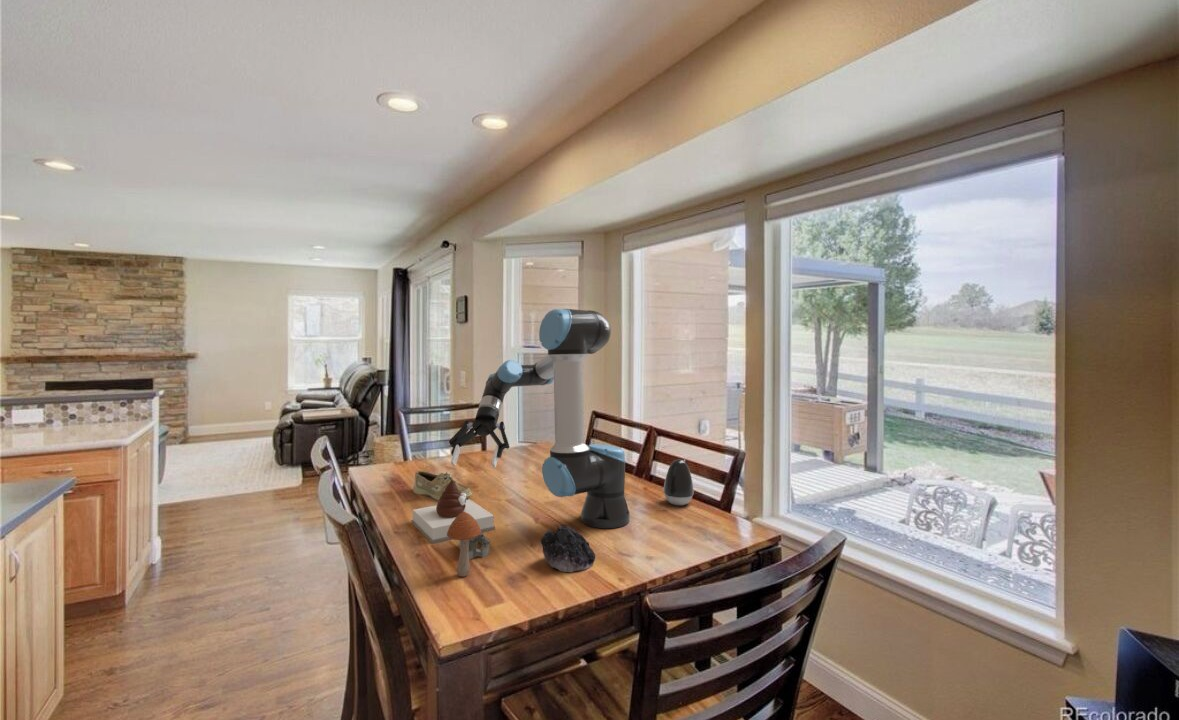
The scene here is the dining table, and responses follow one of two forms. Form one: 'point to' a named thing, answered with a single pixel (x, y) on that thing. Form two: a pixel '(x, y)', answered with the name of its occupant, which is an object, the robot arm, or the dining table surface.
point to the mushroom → (463, 538)
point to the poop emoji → (451, 501)
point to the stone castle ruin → (473, 546)
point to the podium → (448, 521)
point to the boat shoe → (435, 484)
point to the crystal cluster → (567, 550)
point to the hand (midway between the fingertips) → (473, 464)
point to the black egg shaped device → (678, 483)
